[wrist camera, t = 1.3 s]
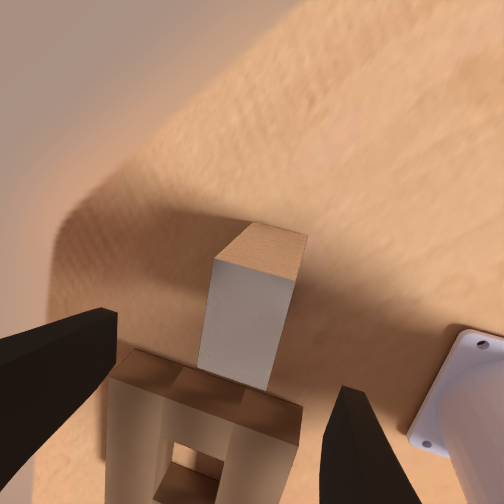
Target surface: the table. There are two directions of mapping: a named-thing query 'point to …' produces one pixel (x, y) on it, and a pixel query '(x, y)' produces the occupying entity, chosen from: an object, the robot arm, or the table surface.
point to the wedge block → (250, 303)
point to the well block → (194, 436)
